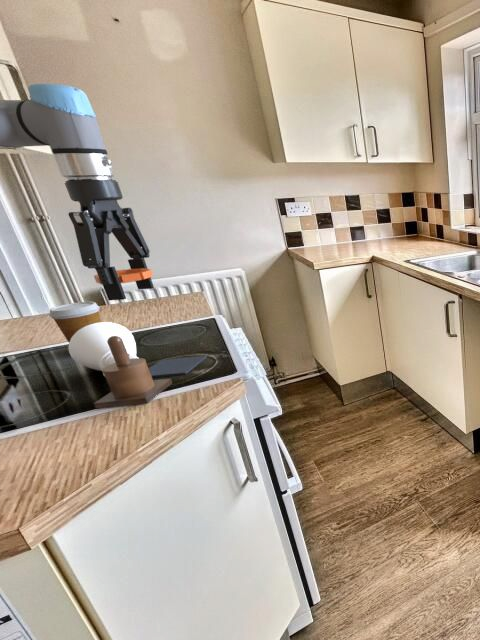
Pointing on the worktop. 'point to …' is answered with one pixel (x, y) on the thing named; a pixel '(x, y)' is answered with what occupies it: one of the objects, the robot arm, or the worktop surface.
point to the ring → (130, 275)
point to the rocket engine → (99, 344)
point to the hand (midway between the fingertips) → (132, 293)
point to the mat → (175, 366)
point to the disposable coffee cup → (75, 317)
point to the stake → (128, 379)
